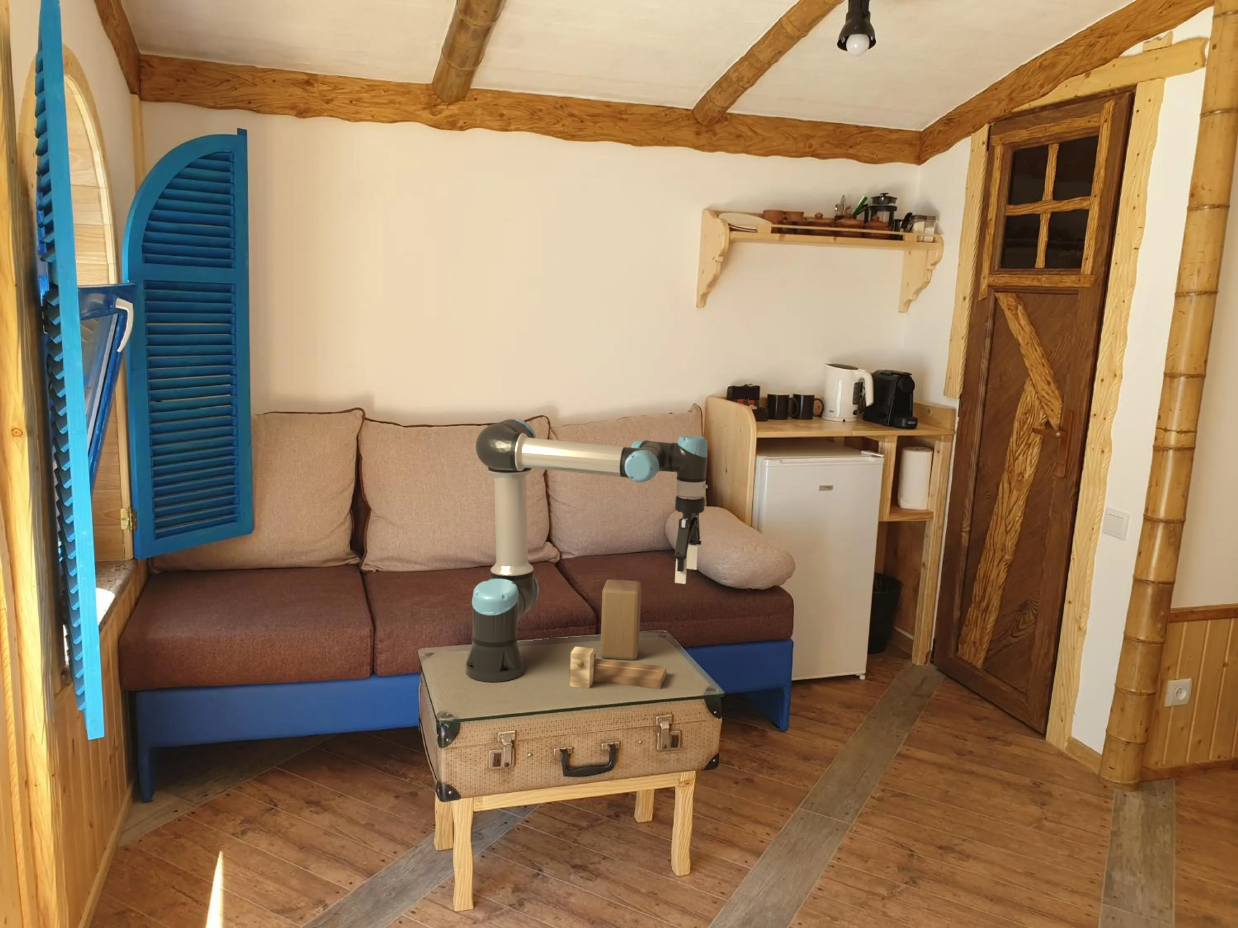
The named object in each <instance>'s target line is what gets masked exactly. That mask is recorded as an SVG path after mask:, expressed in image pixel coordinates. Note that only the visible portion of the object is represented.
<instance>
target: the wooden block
mask: <svg viewBox="0 0 1238 928" xmlns="http://www.w3.org/2000/svg"><path fill="white" fill-rule="evenodd" d="M601 594H602V596H601V621H600V622H601V624H600V625H601V630H600V651H599V652H600V658H604V659H615V660H617V659H618V660H631V661H634V660H636V659H637V656H638V651H639V647H640V633H641V630H640V626H641V607H642V606H641V602H642V583H641V582H640V581H639V580H625V579H606V581H605V584H604V585H603V588H602V593H601Z"/></svg>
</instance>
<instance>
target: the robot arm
mask: <svg viewBox="0 0 1238 928" xmlns="http://www.w3.org/2000/svg"><path fill="white" fill-rule="evenodd" d="M475 451H476V455H477V457H478V459H479V460H480V462H481V463H482V464H483V465H484V466H486V467H487V468H488V469H487V471H488V473H490V474H491V475H492V476H493V478H494V479H493V483H494V484H493V485H494V487H493V489H494V522H495V525H494V528H495V529H494V530H495V564H494V565H493V566H491V568H490V579H487V580H484V581H480V582H479V583H478V584H477V585H476V586H475V587H474V589H473V592H472V599H471V605H472V644H471V646H470V649H469V652H468V654H467V657H466V661H465V669H464V670H465V674H466V676H468V677H469V678H471V679H474V680H476V681H481V682H487V683H488V682H489V683H491V682H493V683H496V682H507V681H511V680H513V679H516V678H519V677H520V676H521V675H522V674H523V673H524V667H525V666H524V665H525V663H524V660H523V657H522V654H521V650H520V647H519V645H518V644H519V643H518V621H519V620H520V619H521V618H522V617H523V616H525V614H526V613H528V612H529V611H530V610H531V609H532V608H533V607H534V605H535V604H536V602H537V599H538V596H539V592H540V587H539V583H538V579H536V577H535V576H534V566H533V565H532V564H531V563H530V562H528V557H529V555H528V551H529V548H528V546H529V545H528V511H527V510H528V506H527V505H528V499H527V498H528V494H527V492H528V490H527V476H528V475H529V474H530V473H531V472H532V470H533V469H537V470H538V469H539V470H546V471H557V472H568V473H569V472H570V473H576V474H577V473H578V474H589V475H595V476H597V475H598V476H605V477H607V476H608V477H617V478H619V477H620V478H625V479H626V478H627V479H629V480H631V481H633V482H636V483H644V482H648V481H650V480H652V479H654V477H655V476H656V475H657V473H659V472H670V473H676V481H675V494H676V496H675V500H674V501H675V504H674V505H675V507H674V509H675V511H676V512H678V513H682V518H679V520H678V529H677V537H676V543H675V550H674V554H672V558H673V559H675V573H674V583H675V584H683V585H686V583H687V569H688V570H696V571H697V569H698V558H699V557H698V555H699V553H698V552H699V545H702V540H701V532H700V531H701V529H700V514H701V513H704V512H705V503H706V501H705V500H706V498H705V497H704V496H706V489H708V487H709V486H708V484H706V480H707V469H708V468H707V467H708V457H709V456H708V455H709V454H708V440H707V438H705V437H704V436H701V435H693V434H691V435H685V434H684V435H681V436H679V437H678V440H677V442H666V441H655V440H653V441H651V440H648V439H646V440H635V441H633V442H632V444H631V446H630V447H628V446H627V447H626V446H619V445H609V444H599V443H590V442H589V443H588V442H587V443H586V442H577V441H569V440H568V441H567V440H566V441H565V440H558V439H557V440H555V439H548V438H547V439H545V438H537V435H536V433H535V431H534V429H533V428H532V427H531V425H530V424H528V422H526V421H524V420H522V419H519V418H506V419H503V420H500V421H499V422H496V423H494V424H490V425H489V426H487V427H485V428H484V429H482V430H481V431H480V433H479V434H478V436H477V438H476V442H475Z"/></svg>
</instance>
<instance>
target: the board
mask: <svg viewBox="0 0 1238 928" xmlns="http://www.w3.org/2000/svg"><path fill="white" fill-rule="evenodd" d="M568 670H569V671H568V672H569V675H568V678H569V679H570V668H569V669H568ZM666 677H667V666H664V665H663V666H662V665H654V664H647V663H645V664H644V663H637V662H630V661H629V662H627V661H619V660H611V659H610V660H609V659H601V658H595V659H594V670H593V682H600V683H608V684H613V685H614V684H616V685H624V686H631V687H640V688H641V687H642V688H650V689H659V690H661V689H662V685H663V683H664V681H665V678H666Z"/></svg>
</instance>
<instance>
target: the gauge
mask: <svg viewBox="0 0 1238 928" xmlns="http://www.w3.org/2000/svg"><path fill="white" fill-rule="evenodd" d="M596 654H597V652H596V651H595V648H592V647H583V646H574V647H573V649H572V650H571V652H570V664H569V665H570V667H569V669H570V678H569V687H574V688H582V689H590V687H591V686H592V685H593V683H594V681H593V670H594V659H596V657H597V655H596Z"/></svg>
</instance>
